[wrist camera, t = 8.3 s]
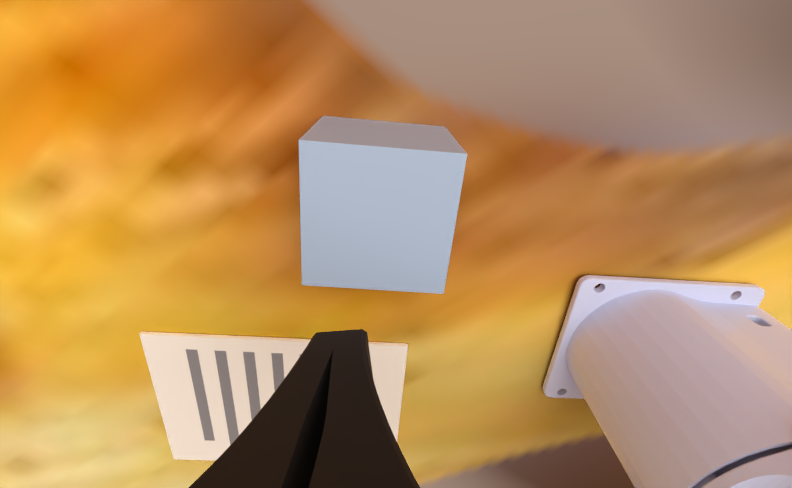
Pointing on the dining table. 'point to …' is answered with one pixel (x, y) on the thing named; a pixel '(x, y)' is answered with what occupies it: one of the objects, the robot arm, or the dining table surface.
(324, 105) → the dining table surface
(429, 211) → the slate cube
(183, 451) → the letter
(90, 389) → the dining table surface
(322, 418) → the robot arm
